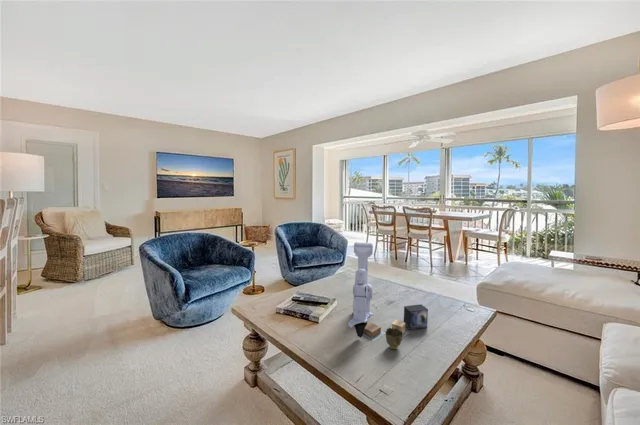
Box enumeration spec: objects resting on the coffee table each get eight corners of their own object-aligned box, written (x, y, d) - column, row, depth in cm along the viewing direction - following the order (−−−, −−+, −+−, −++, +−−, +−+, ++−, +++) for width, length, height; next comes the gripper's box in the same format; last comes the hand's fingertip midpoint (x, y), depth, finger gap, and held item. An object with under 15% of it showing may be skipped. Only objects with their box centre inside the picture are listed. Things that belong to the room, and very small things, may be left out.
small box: (409, 331, 140) (410, 311, 139) (402, 324, 146) (403, 305, 145) (427, 328, 142) (428, 309, 141) (420, 322, 149) (421, 303, 148)
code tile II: (387, 332, 138) (387, 332, 138) (395, 327, 144) (395, 326, 144) (401, 339, 133) (401, 338, 133) (409, 333, 138) (409, 332, 138)
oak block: (391, 333, 138) (391, 323, 137) (395, 328, 142) (395, 319, 141) (401, 336, 135) (401, 326, 134) (405, 332, 139) (405, 322, 138)
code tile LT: (355, 332, 139) (355, 332, 139) (368, 325, 146) (368, 324, 146) (373, 341, 131) (373, 341, 131) (386, 333, 138) (386, 332, 138)
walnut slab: (360, 332, 139) (360, 326, 138) (369, 327, 143) (369, 321, 143) (372, 337, 133) (372, 332, 133) (380, 332, 138) (380, 327, 138)
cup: (389, 341, 131) (389, 325, 130) (404, 347, 126) (405, 330, 125) (382, 348, 125) (382, 332, 124) (397, 355, 120) (398, 337, 119)
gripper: (356, 316, 123) (356, 345, 125) (376, 307, 133) (375, 333, 134) (344, 311, 128) (344, 339, 130) (364, 302, 138) (364, 328, 140)
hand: (359, 336), depth 132 cm, fingers closed
